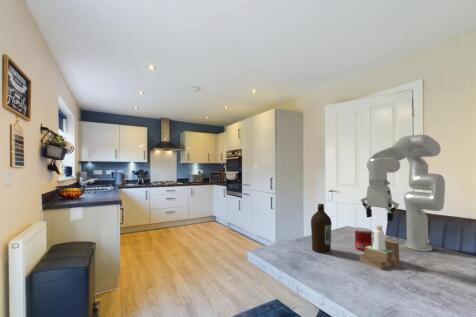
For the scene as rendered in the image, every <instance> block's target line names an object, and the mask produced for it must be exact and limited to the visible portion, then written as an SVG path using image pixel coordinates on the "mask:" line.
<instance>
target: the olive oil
mask: <svg viewBox="0 0 476 317" xmlns="http://www.w3.org/2000/svg"><path fill="white" fill-rule="evenodd" d="M332 224H333V223H332V219H331V217H330V216H329V215H328V213H326V211H325V204H323V203H318V204H317V211H316V212H315V213H314V214H313V215H312V216H311V219H310V228H311V231H310V232H311V249H312V251H313V252H314V253H319V254H329V253H331V252H332V250H331V248H332V246H331V245H332Z"/></svg>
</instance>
